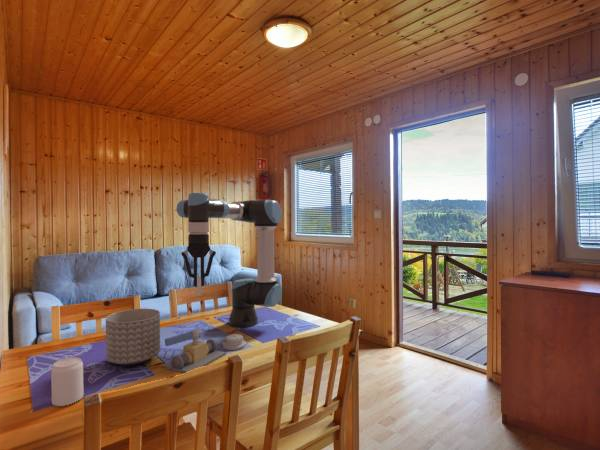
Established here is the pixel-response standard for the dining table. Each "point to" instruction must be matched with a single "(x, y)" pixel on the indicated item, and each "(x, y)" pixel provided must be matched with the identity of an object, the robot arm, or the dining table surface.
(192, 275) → the robot arm
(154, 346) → the planter
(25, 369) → the dining table surface
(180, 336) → the lever
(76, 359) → the beverage can
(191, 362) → the valve assembly
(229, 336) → the mechanical component
